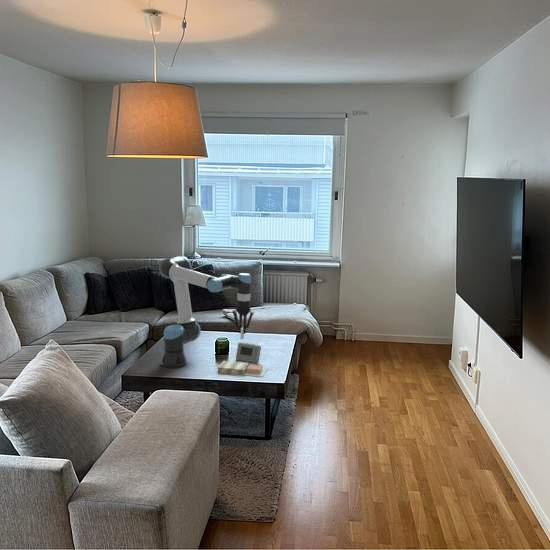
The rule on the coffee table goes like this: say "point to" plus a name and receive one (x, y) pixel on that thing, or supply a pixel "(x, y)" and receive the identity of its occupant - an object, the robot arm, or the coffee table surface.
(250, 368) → the terracotta tile
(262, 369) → the sage mat
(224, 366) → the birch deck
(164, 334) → the robot arm
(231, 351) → the coffee table surface
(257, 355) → the digital clock
